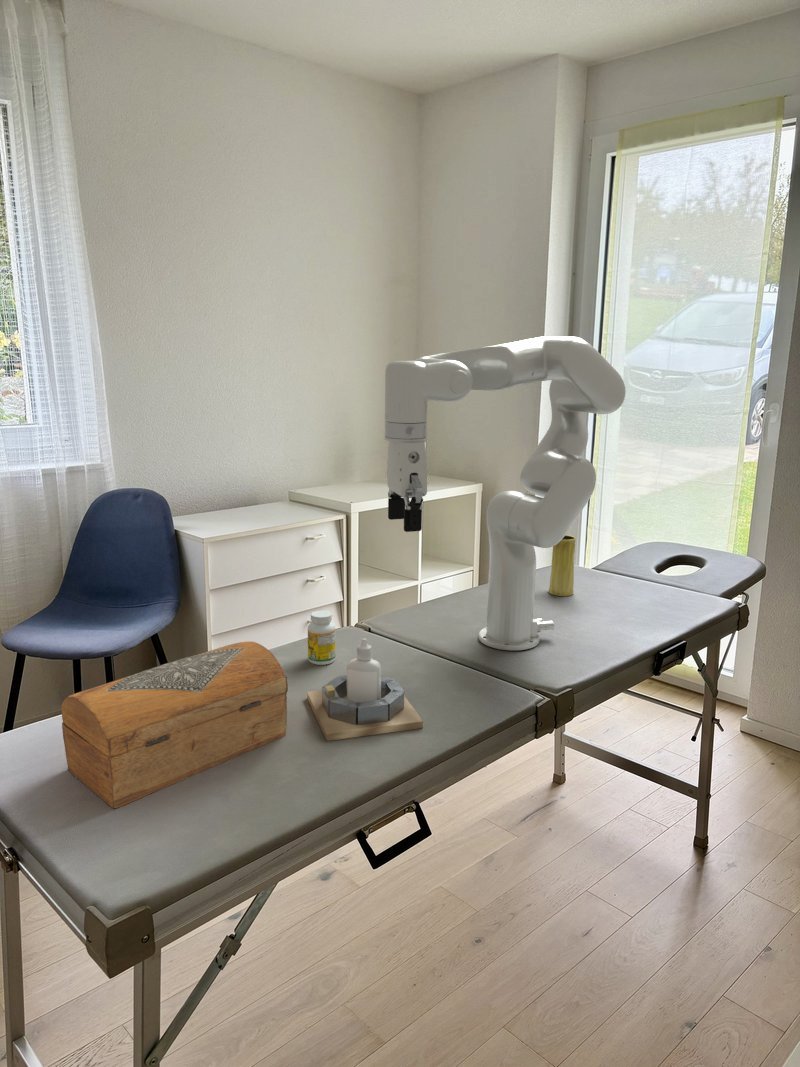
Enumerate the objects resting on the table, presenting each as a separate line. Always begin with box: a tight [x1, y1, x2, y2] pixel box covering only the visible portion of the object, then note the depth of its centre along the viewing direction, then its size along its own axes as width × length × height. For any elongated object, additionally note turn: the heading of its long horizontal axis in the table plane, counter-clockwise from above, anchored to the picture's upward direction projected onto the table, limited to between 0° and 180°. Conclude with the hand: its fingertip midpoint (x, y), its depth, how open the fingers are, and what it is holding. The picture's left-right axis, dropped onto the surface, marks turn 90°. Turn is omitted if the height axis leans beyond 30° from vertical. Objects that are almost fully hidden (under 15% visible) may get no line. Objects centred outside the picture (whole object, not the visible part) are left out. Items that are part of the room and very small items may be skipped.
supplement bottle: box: [307, 610, 337, 666], centre depth 159 cm, size 5×5×10 cm
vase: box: [548, 534, 576, 597], centre depth 202 cm, size 6×6×14 cm
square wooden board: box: [306, 689, 424, 742], centre depth 139 cm, size 16×16×1 cm
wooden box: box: [60, 641, 289, 809], centre depth 124 cm, size 30×16×14 cm, turn 135°
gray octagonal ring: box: [321, 674, 405, 725], centre depth 138 cm, size 13×13×4 cm
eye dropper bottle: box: [346, 637, 382, 702], centre depth 137 cm, size 4×6×12 cm
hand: (404, 524), depth 150 cm, fingers open, 9 cm apart
